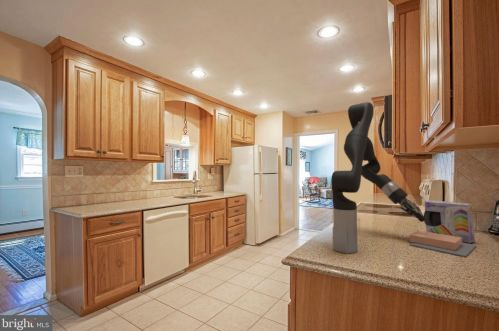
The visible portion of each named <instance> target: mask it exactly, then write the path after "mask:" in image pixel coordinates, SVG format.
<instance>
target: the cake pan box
mask: <svg viewBox="0 0 499 331" xmlns="http://www.w3.org/2000/svg"><path fill="white" fill-rule="evenodd" d="M472 205H473V204H472V203H464V202H454V201H442V200H441V201H440V200H425V201H424V212H423V216H424V217H425V218H426V220H425V221H423V222H424V224H425V227H426V228H425V229H426V231H425V232H431V233H437V234H443V235H450V236H456V237H462V243H467V244H469V243H475V241H476V240H475V239H476V238H475V237H476V236H475V226H474V218H473V217H474V216H473V206H472Z"/></svg>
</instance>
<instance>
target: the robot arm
mask: <svg viewBox="0 0 499 331" xmlns="http://www.w3.org/2000/svg"><path fill="white" fill-rule="evenodd" d="M347 115H348V116H347V117H348V120H349V123H350V126H351V130H350V131H349V132H348V134H346V137H345V139H344V140H345V141H344V144H343V151H344V154H345V155H346V157H347V158H348V160H349V161H350V163H351V166H352V167H351V169H350V170H335V171H332V172H333V173H332V175H331V177H330V178H331V180H330V183H331V195H332V196H331V199H332V201H331V202H332V211H333V212H332V213H333V216H332V217H333V218H332V220H333V224H332V250H333V251H336V252H340V253H342V254H346V255H347V254H355V253H357V252H358V210H357V208H358V206H357V202H356V201H354V200H351V199H350V198H348V197H346V196H345V195H344V193H348V194H351V193H352V194H353V193H354V194H356V193H358V192H359V190H360V187H361V180H362V178H364V179H365V180H367V181H369V182H371V183H372V184H374V185H375V186H376V187H378V188H379V189H380V191H381V192H382V193H383V194H384V195H385V196H386V197H387V198H388V199H389V200H390V201H391V202H392V203H393V204H394V205H397V204H399V206H400V209H401V210H402V211H404V212H406V213H407V214H409V215H410V216H413V217H415V218H416V219H417V220H418V221H419V222H421V223H422V222H424V221H425V220H426V218H425V217H424V215H423V214H422V213H421V212H420V211H421V210H420V209H419V207H418V206H417V204H416V203H415V202H414V201H413V202H412V201H411V200H410V199H408V198H407V197H408V193H407V192H406V191H405V190H404V189H403V188H402V187H400V186H399V185H398V184H397V183H396V182H394V181H393V180H392V179H391V178H390V177H389V176H388V175H386V174H384V173H383V174H379V172H381V164H380V162H379V160H378V159H377V157H376V154H375V148H374V143H373V141H372V140H371V139H370V137H368V136H369V130H370V127H371V124H372V121H373V118H374V106H373V103H371V102H368V101H367V102H366V101H365V102H361V103H356V104H352V105H350V106H349V107H348V110H347ZM364 161H366V162H367V163H365V164H363V163H364Z"/></svg>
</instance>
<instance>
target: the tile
mask: <svg viewBox="0 0 499 331" xmlns="http://www.w3.org/2000/svg"><path fill="white" fill-rule="evenodd" d="M408 237H409V238H408V240H409V242H410V243H413V242H414V243H419V244H424V245H429V246H434V247H439V248H444V249H449V250H454V251H455V250H456V249H458V248H459V247H460V246H461V245H462V243H463V241H462V237H456V236H450V235H443V234H437V233H431V232H427V231H424V230H417V231H414V232H412V233H410V234H409V236H408Z"/></svg>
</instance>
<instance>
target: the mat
mask: <svg viewBox="0 0 499 331" xmlns="http://www.w3.org/2000/svg"><path fill="white" fill-rule="evenodd" d="M409 247H415V248H419V249H422V250H423V249H425V250H428V251H434V252H438V253H443V254H448V255H452V256H457V257H462V258H467V257H468V256H469V255H470V254H471V253H472V252H473V251H474V250H475V248H477V245H474V244H469V243H466V242H462V245H461V246H460V247H459V248H458V249H456V250H455V251H454V250H449V249H444V248H439V247H434V246H429V245H424V244H419V243H414V242H410V244H409Z"/></svg>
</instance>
